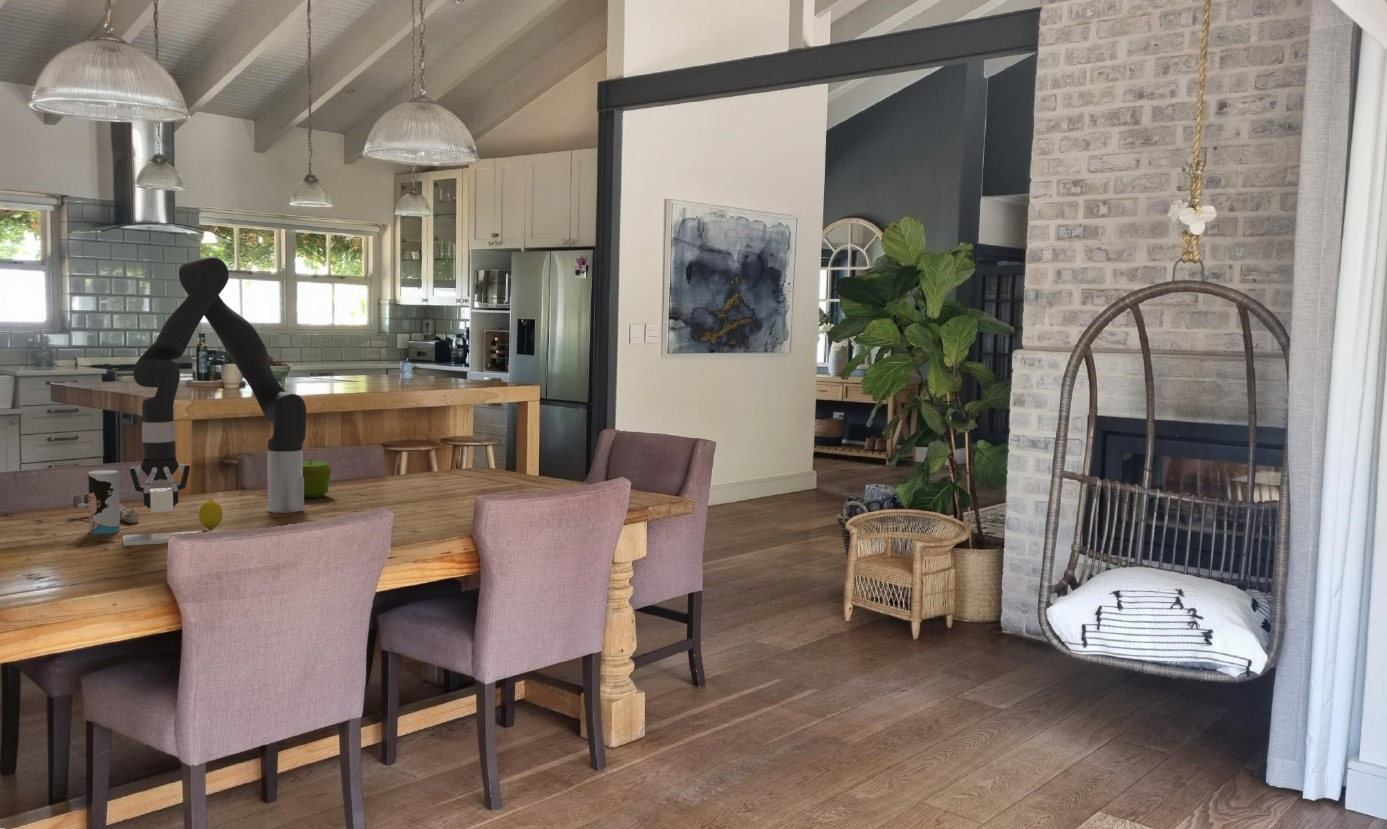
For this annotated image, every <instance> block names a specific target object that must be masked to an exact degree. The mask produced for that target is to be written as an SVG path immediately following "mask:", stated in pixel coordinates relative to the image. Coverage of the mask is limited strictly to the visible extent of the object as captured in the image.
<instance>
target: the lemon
mask: <svg viewBox="0 0 1387 829" xmlns="http://www.w3.org/2000/svg"><path fill="white" fill-rule="evenodd" d="M223 514H224V513H223V509H222V506H221V504H220V503H219V502H218V501H215V500H213V498H210V499H208V500H206V501H204V502H203V503H202V504H201V505H200V508H199V511H198V518H199V522H200V524H201V525H202V526H203V527H205V528H207V530H208V531H211V530H214V528H216V527H218V526H219V525H220V524H221V523H222V520H223Z"/></svg>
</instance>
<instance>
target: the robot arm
mask: <svg viewBox="0 0 1387 829" xmlns="http://www.w3.org/2000/svg"><path fill="white" fill-rule="evenodd" d="M229 274H230V273H229V269H228V267H227V264H226V263H225V262H224V261H223V260H222V259H220V258H219V257H218V256H217V257H216V256H204V257H201V258H197V259H193V260H189V261H186V262H184V263H183V264H182V265H181V266H180V267H179V269H178V278H179V281H180V284H181V286H182V288H183V289H184V291H185V292H186V294H187V297H186V298H185V300H184V301H182V302H181V304H180V305H179V306H178V307H177V308H175V310H174V311H173V312H172V314H170V315H169V317H168V318H167V320H166V321H165V322H164V324H163V326H162V328H161V329H160V331H159V333H158V336H157V337H156V340H155V341H154V342H153V343H152V344H151V345H150V346H149V347H148V348H147V350H146V351H144V353H142V355H141V356H140V357H139V358H138V360H137V361H136V362H135V365H134V367H133V372H132V373H133V379H134V381H135V383H136V384H137V385H139V386H140V387H142V388H143V387H144V388H157V389H156V393H155V395H154V396H150V397H147V398H145V399H143V400H142V404H141V410H142V411H141V413H142V414H141V415H142V427H141V443H142V444H141V447H142V462H141V464H140V465H138V466H131V467H129V473H130V478H131V479H132V483H133V486H134V491H136V492H140V493H142V495H143V496H142V497H143V504H144V506H145V507H146V508H147V509H150V492H149V489H151V486H152V485H153V482H154V481H159V480H162V481H167V480H168V483H169V484H170V488H172V490H173V507H176V505H177V504H179V491H180V490H183V489H186V488H187V482H188V478H189V473H190V469H191V468H190V465H189V464H187V463H185V464H182V463H179V462H178V459H177V447H176V443H177V442H176V440H177V439H176V438H177V435H176V427H175V416H174V413H175V412H174V411H175V410H174V405H175V404H174V403H175V399H176V395H177V391H178V388H179V384H180V379H181V371H180V369H179V366H178V364H177V363H176V362H175V361H174V360H178V359H179V358H181V357H182V356H183V355H184V353H185V351H186V350H187V347H188V345H189V343H190V341H191V339H192V337H193V335H194V333H195V331H196V329H197V327H198V326H199V324H200V322H201V321H202V319H203V318H204V317H205V319H206V320H207V322H208V324H209V325H210V327H211V328H212V330H213V331H214V333H215V334H216V336H217V338H219V340H220V342H221V344H222V346H223V347H224V349H225V350H226V352H227V354H228V355H229V357H230V359H231V360H232V361H233V363H234V364H235V366H236V367H237V369H238V371H239V372H240V374H241V375H242V376H243V378H244V379H245V381H246V382H247V385H249V387H250V389H251V391H252V393H253V395H254V398H255V399H256V400H257V403H258V405H259V407H260V409H261V411H262V414H263V415H264V416H265V418H266V419H267V420H268V422H271V423H272V424H274V425H273V426H274V427H273V433H272V434H273V435H272V436H271V437H270V438H269V439H268V440H267V511H268V512H269V513H277V514H278V513H282V514H285V513H286V514H287V513H288V514H289V513H296V512H304V511H305V509H304V508H305V498H304V477H303V462H304V461H303V460H304V458H303V453H304V452H303V451H304V450H303V448H304V446H303V445H304V442H305V440H306V435H307V407H306V403H305V400H304V398H303V397H301V396H300V395H299V394H296V393H292V392H287V391H285V390H284V388H283V387H282V386H281V384H280V383H279V381H278V379H277V378H276V377H275V375H274V373H273V371H272V367H271V364H270V358H269V354H268V350H267V347H266V345H265V343H264V341H263V339H262V338H261V336H260V335H259V333H258V331H257V330H256V329H255V327H254V326H253V324H252V323H250V322H249V321H248V320H246V319H245V318H244V317H243V316H242V315H240V314H238V313H237V312H236V311H234V310H233V309H232V308H230V306H228V305H227V304H226V303H225V302H224V300H223V299H222V298H221V296H220V294H221V293H222V291H223V290H224V289H225V287H226V286H227V284H228V281H229V277H230V276H229ZM177 469H179V472H180V473H181V478H180V482H179V483H178V484H177V483H176V481H175V479H174V477H173V475H174V473H175V472H176V471H177ZM140 471H143V473H145V475H146V476H147V477H146V479H145V483H144V485H141V484H140V482H139V478H138V476H139V475H140V474H141V473H140Z"/></svg>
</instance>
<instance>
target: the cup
mask: <svg viewBox="0 0 1387 829" xmlns="http://www.w3.org/2000/svg"><path fill="white" fill-rule="evenodd" d="M87 480H88V493H89V508H88V524H89V525H88V527H89V529H88V533H89V534H92V535H108V534H109V535H110V534H116V533H119V532H120V531H121V530H120V528H121V524H120V523H121V522H120V521H121V519H120V517H119V503H120V471H119V470H115V469H99V470H98V469H97V470H91V471H88V479H87Z"/></svg>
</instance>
